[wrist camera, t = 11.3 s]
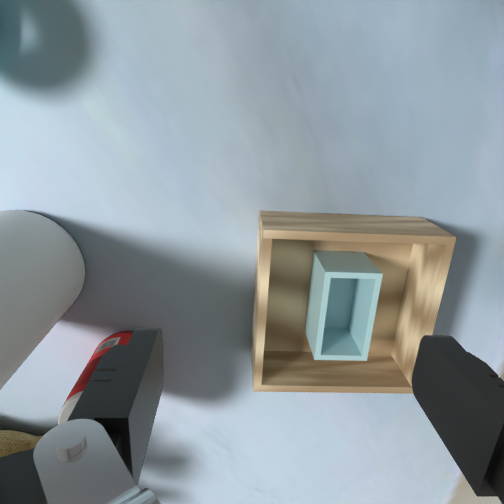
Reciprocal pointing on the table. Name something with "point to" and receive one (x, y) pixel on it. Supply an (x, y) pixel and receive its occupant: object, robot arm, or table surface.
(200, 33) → the table surface
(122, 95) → the table surface
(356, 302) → the small crate
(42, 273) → the cylinder vase
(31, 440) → the decorative coral
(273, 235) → the large crate
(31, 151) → the table surface
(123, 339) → the canned food
